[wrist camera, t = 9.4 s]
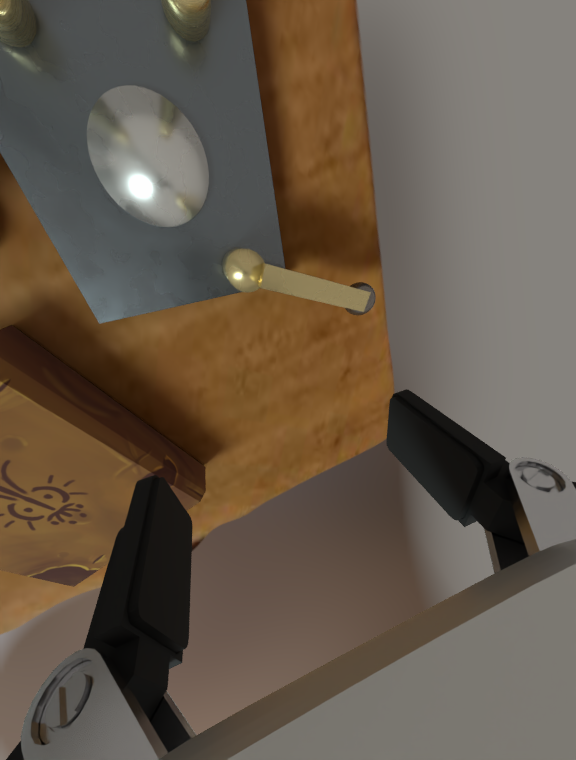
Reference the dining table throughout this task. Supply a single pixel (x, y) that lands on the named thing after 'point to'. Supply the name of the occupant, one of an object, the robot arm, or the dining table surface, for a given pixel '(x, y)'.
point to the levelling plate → (139, 144)
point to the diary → (71, 466)
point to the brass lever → (293, 282)
